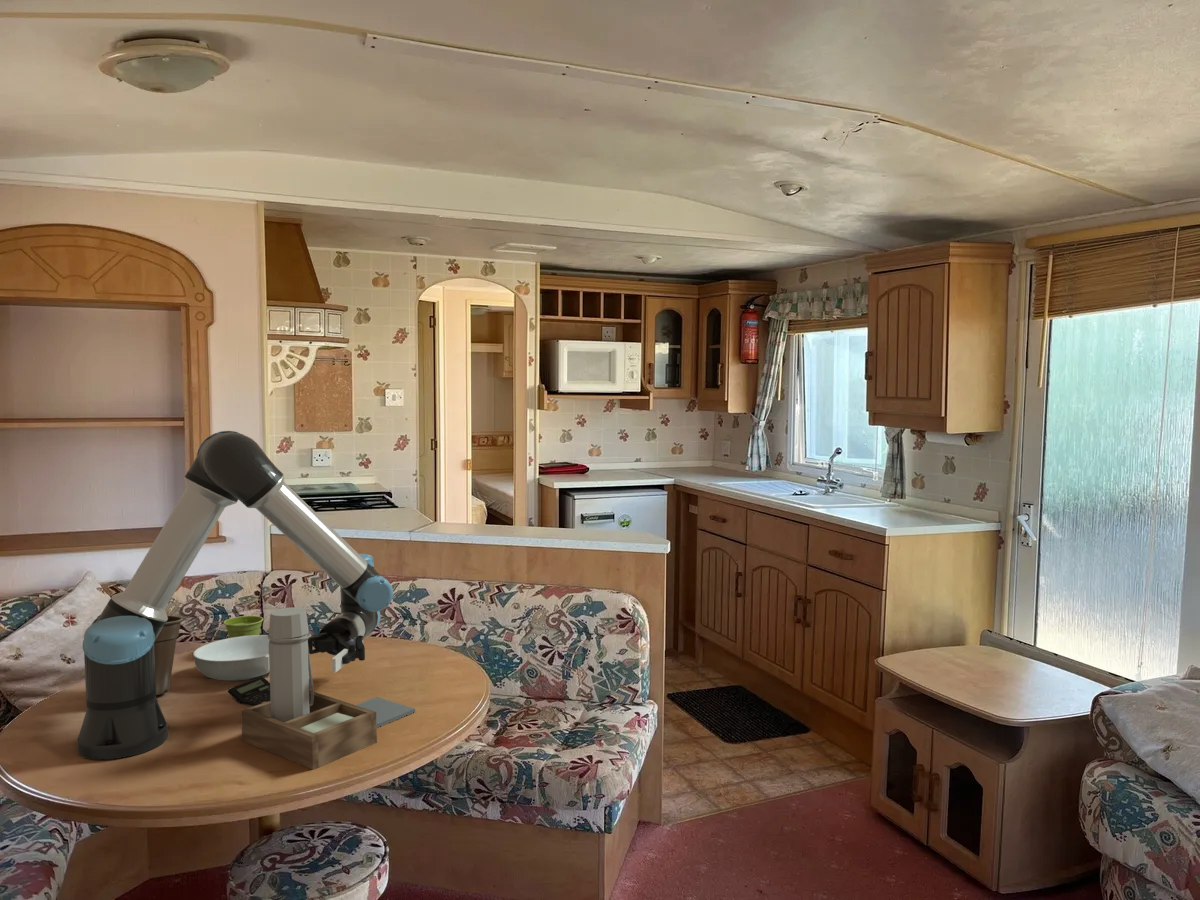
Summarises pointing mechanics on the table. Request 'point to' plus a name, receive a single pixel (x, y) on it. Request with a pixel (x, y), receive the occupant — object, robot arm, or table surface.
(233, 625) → the plant pot
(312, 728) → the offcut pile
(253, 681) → the calculator
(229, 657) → the serving bowl
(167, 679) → the plant pot
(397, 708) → the slate mat
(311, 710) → the walnut divided tray
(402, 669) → the table surface
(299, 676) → the water bottle
